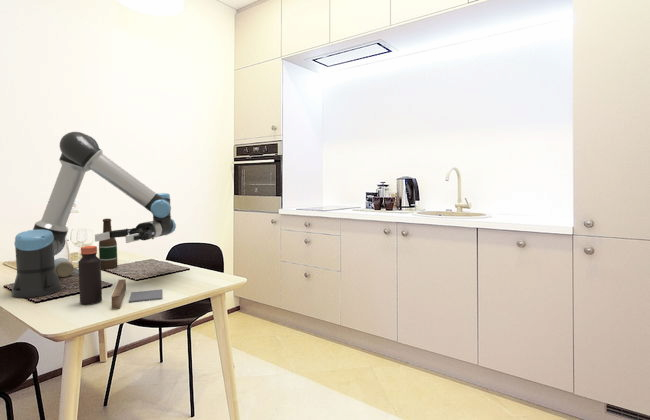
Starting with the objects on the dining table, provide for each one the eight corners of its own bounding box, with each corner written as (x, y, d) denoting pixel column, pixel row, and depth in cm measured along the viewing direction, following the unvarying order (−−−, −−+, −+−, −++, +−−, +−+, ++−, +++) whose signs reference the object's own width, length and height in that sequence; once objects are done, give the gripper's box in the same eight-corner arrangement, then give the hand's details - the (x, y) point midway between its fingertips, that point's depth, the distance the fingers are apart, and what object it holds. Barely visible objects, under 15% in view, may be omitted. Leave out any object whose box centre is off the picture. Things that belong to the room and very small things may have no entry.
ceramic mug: (55, 279, 164) (55, 261, 163) (50, 275, 169) (49, 258, 169) (83, 275, 172) (83, 258, 171) (77, 272, 177) (77, 255, 177)
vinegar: (81, 300, 138) (79, 245, 136) (103, 297, 141) (101, 244, 139) (78, 306, 132) (75, 249, 130) (100, 303, 135) (98, 248, 133)
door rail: (111, 309, 129) (111, 296, 129) (119, 290, 149) (118, 279, 149) (119, 308, 130) (119, 295, 130) (126, 290, 150) (125, 279, 150)
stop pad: (128, 302, 136) (128, 301, 136) (131, 293, 146) (131, 292, 146) (162, 299, 140) (162, 297, 140) (162, 290, 150) (162, 289, 150)
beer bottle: (101, 266, 188) (99, 218, 186) (119, 265, 190) (117, 217, 188) (97, 269, 181) (95, 219, 178) (115, 269, 183) (114, 219, 181)
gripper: (174, 240, 162) (140, 250, 142) (123, 237, 168) (83, 247, 147) (173, 222, 162) (139, 230, 141) (123, 221, 167) (82, 227, 146)
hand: (110, 238), depth 144 cm, fingers open, 13 cm apart
